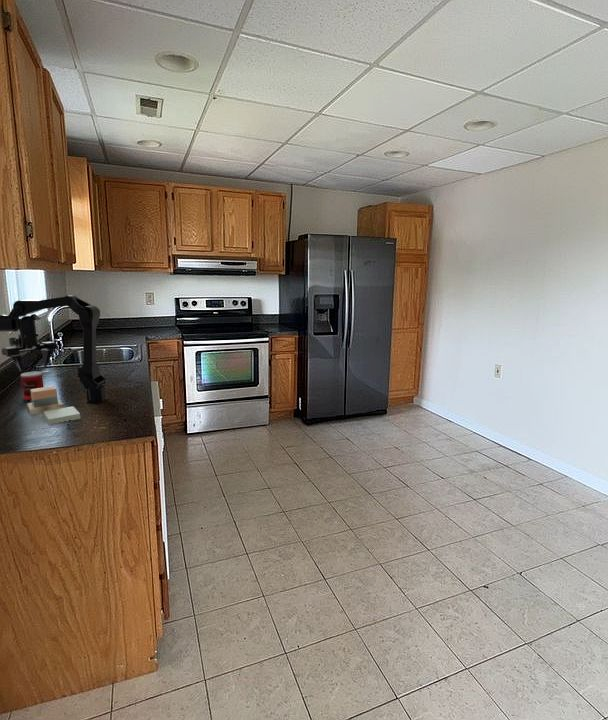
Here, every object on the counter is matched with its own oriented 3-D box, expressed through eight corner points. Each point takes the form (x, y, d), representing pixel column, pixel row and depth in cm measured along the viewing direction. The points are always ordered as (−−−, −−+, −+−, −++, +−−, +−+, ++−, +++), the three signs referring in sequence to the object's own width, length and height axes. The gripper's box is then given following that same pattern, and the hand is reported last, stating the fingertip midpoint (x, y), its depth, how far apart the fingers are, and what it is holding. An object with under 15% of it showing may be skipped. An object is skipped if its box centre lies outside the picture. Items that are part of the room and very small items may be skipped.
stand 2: (43, 416, 156) (43, 411, 155) (73, 411, 162) (73, 406, 162) (49, 424, 147) (48, 419, 147) (80, 418, 154) (79, 413, 153)
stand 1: (59, 403, 172) (58, 398, 171) (64, 409, 164) (63, 404, 164) (27, 408, 165) (26, 403, 165) (31, 414, 157) (30, 409, 157)
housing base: (55, 400, 169) (54, 393, 168) (58, 403, 165) (57, 396, 164) (32, 404, 164) (31, 396, 163) (34, 407, 160) (33, 399, 159)
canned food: (40, 394, 183) (37, 370, 181) (47, 398, 178) (44, 373, 176) (20, 398, 177) (17, 373, 175) (27, 402, 172) (24, 376, 170)
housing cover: (54, 393, 168) (53, 386, 168) (57, 396, 164) (56, 388, 163) (31, 396, 163) (30, 389, 163) (33, 399, 159) (32, 392, 158)
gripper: (42, 327, 180) (47, 362, 183) (-8, 332, 165) (-2, 371, 168) (55, 329, 174) (60, 365, 177) (5, 334, 159) (11, 374, 162)
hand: (33, 369), depth 171 cm, fingers open, 9 cm apart
